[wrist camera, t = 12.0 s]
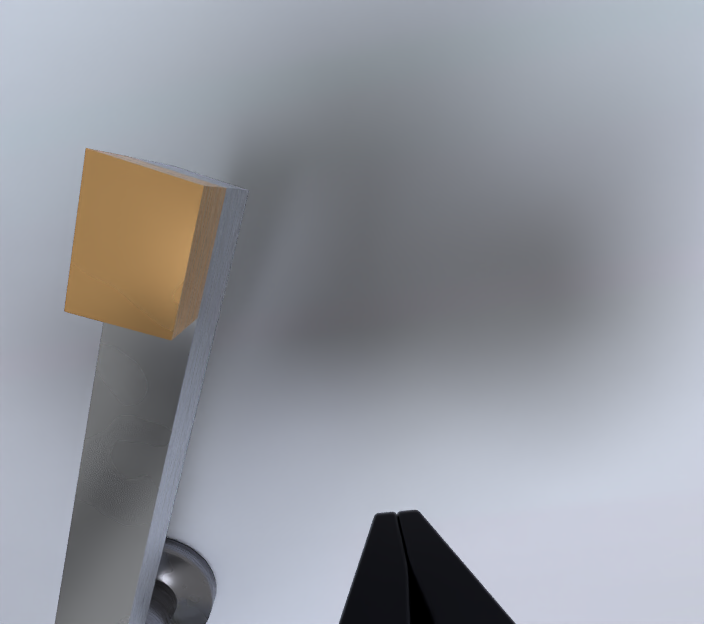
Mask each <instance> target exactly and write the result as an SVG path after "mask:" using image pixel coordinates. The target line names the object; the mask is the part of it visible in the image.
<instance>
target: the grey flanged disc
mask: <svg viewBox="0 0 704 624" xmlns="http://www.w3.org/2000/svg"><path fill="white" fill-rule="evenodd" d="M215 595H216V583H215V578H214V575H213V573H212V571H211V569H210V567H209V566H208V564H207V563H206V561H205V560H204V559H203V558H202V557H201V556H200V555H199V554H197V553H196V552H195V551H194V550H192V549H191V548H189V547H187V546H185V545H183V544H182V543H179V542H177V541H174V540H171V539H167V538H166V539H165V543H164V547H163V551H162V555H161V560H160V564H159V568H158V572H157V576H156V580H155V585H154V589H153V593H152V597H151V601H150V605H149V610H148V614H147V618H146V622H145V624H206V622H207V620H208V618H209V615H210V612H211V609H212V606H213V603H214V599H215Z"/></svg>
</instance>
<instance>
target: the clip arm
mask: <svg viewBox="0 0 704 624" xmlns="http://www.w3.org/2000/svg"><path fill="white" fill-rule="evenodd" d="M248 193H249V190H247V189H244V188H241V187H237V186H234V185H231V184H228V183H225V182H222V181H219V180H216V179H213V178H210V177H207V176H204V175H200V174H197V173H194V172H191V171H188V170H185V169H182V168H179V167H176V166H172V165H167V164H162V163H158V162H153V161H148V160H143V159H138V158H133V157H128V156H123V155H118V154H113V153H108V152H103V151H98V150H93V149H89V148H86V151H85V159H84V166H83V174H82V181H81V189H80V196H79V204H78V211H77V219H76V226H75V234H74V241H73V249H72V256H71V264H70V271H69V279H68V286H67V294H66V301H65V309H64V312H68V313H72V314H75V315H79V316H83V317H86V318H90V319H94V320H97V321H101V322H103V328H102V335H101V341H100V347H99V353H98V359H97V366H96V372H95V378H94V384H93V390H92V396H91V403H90V409H89V415H88V421H87V427H86V434H85V440H84V446H83V452H82V458H81V465H80V471H79V477H78V483H77V489H76V496H75V502H74V508H73V514H72V520H71V527H70V533H69V539H68V545H67V551H66V558H65V564H64V570H63V576H62V582H61V588H60V595H59V601H58V607H57V613H56V619H55V624H145V622H146V618H147V614H148V610H149V605H150V601H151V597H152V593H153V589H154V585H155V580H156V576H157V572H158V568H159V564H160V560H161V555H162V551H163V547H164V543H165V539H166V535H167V530H168V526H169V522H170V518H171V514H172V510H173V505H174V501H175V497H176V493H177V489H178V485H179V480H180V476H181V472H182V468H183V464H184V459H185V455H186V451H187V447H188V443H189V439H190V434H191V430H192V426H193V422H194V418H195V414H196V409H197V405H198V401H199V397H200V393H201V389H202V384H203V380H204V376H205V372H206V368H207V364H208V359H209V355H210V351H211V347H212V343H213V339H214V334H215V330H216V326H217V322H218V318H219V314H220V309H221V305H222V301H223V297H224V293H225V289H226V284H227V280H228V276H229V272H230V268H231V264H232V259H233V255H234V251H235V247H236V243H237V239H238V234H239V230H240V226H241V222H242V218H243V214H244V209H245V205H246V201H247V197H248Z"/></svg>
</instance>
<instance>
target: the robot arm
mask: <svg viewBox="0 0 704 624" xmlns="http://www.w3.org/2000/svg"><path fill="white" fill-rule="evenodd" d="M339 624H515V622H514V621H513V620H512V619H511V618H510V617H509V615H508V614H507V613H506V612H505V611H504V610H503V608H502V607H501V606H500V605H499V604H498V603H497V601H496V600H495V599H494V598H493V597H492V596H491V594H490V593H489V592H488V591H487V590H486V589H485V587H484V586H483V585H482V584H481V583H480V582H479V580H478V579H477V578H476V577H475V576H474V575H473V573H472V572H471V571H470V570H469V569H468V568H467V566H466V565H465V564H464V563H463V562H462V561H461V559H460V558H459V557H458V556H457V555H456V554H455V552H454V551H453V550H452V549H451V548H450V547H449V545H448V544H447V543H446V542H445V541H444V540H443V539H442V537H441V536H440V535H439V534H438V533H437V532H436V530H435V529H434V528H433V527H432V526H431V525H430V523H429V522H428V521H427V520H426V519H425V518H424V516H423V515H422V514H421V513H420V512H419V511H418V510H407V511H399V512H398V514H397V515H396V513H395V512H385V513H377V514H376V515H375V516H374V518H373V521H372V524H371V527H370V531H369V534H368V537H367V540H366V543H365V546H364V549H363V552H362V555H361V558H360V561H359V564H358V567H357V570H356V573H355V576H354V579H353V582H352V585H351V588H350V591H349V594H348V597H347V600H346V603H345V606H344V609H343V612H342V615H341V618H340V621H339Z"/></svg>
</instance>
